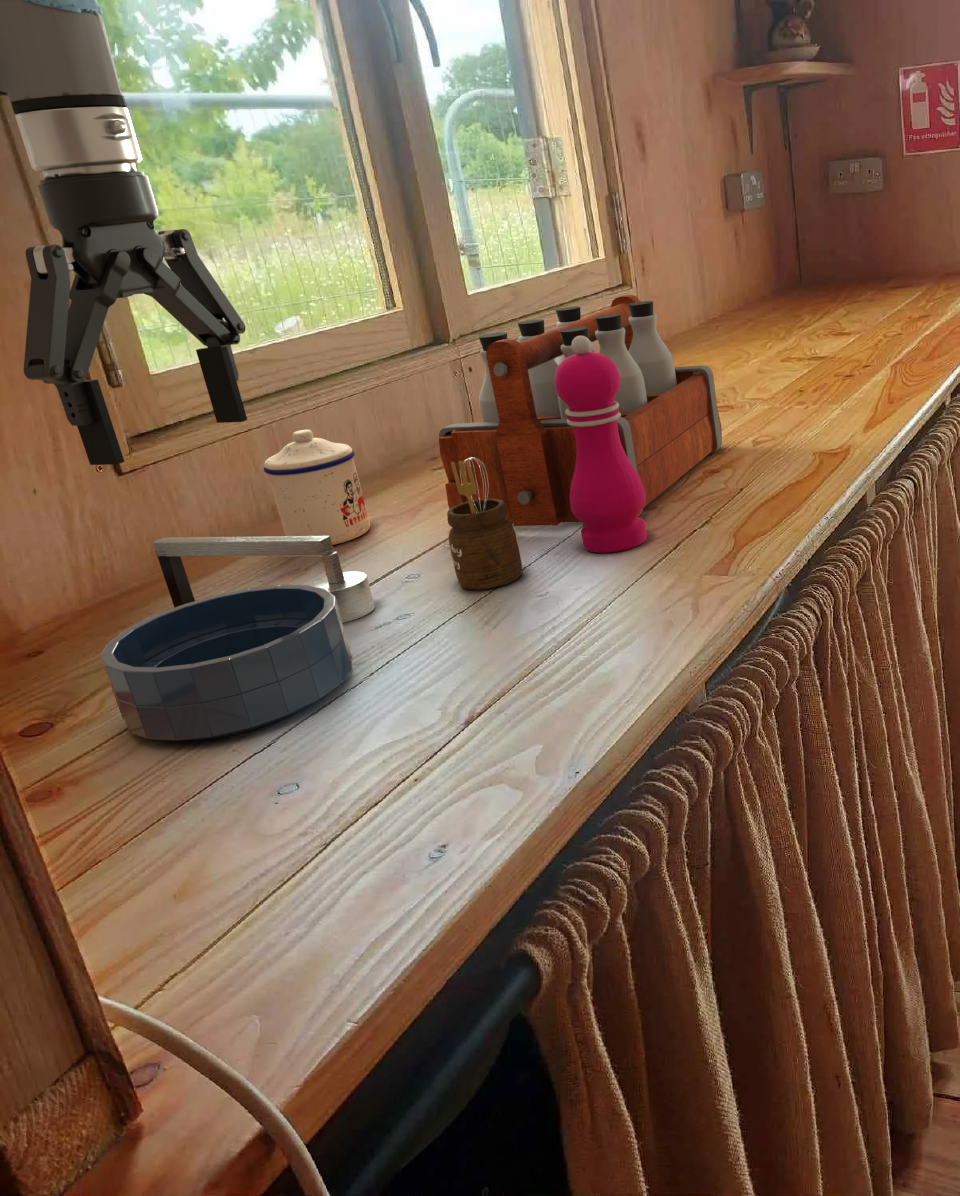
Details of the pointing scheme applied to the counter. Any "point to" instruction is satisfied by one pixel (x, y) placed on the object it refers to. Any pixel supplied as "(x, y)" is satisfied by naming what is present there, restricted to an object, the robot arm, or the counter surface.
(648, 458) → the milk bottle holder
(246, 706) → the bowl
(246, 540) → the bent grey beam
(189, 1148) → the counter surface
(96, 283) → the robot arm
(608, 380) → the pepper mill
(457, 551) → the utensil holder
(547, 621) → the counter surface
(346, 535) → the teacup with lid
